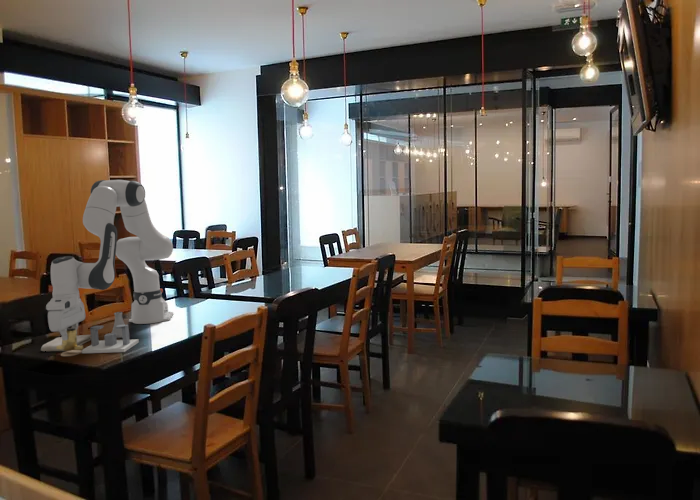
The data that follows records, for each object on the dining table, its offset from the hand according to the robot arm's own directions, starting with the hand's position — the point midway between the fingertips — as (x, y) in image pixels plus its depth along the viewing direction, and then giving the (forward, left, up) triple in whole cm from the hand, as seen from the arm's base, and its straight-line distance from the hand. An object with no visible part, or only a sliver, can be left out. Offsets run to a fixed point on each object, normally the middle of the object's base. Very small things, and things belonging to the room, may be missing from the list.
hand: (69, 337), depth 218 cm
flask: (-25, +8, -6) cm, 27 cm away
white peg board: (-7, +12, -6) cm, 15 cm away
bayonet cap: (0, 0, -4) cm, 4 cm away
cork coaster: (0, 0, -6) cm, 6 cm away
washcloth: (-13, -8, -7) cm, 17 cm away
